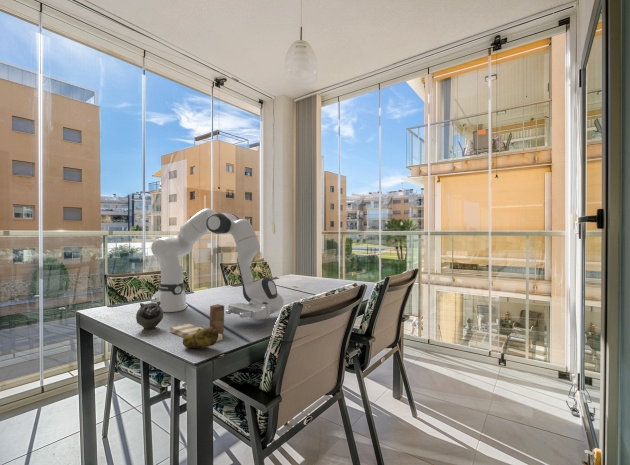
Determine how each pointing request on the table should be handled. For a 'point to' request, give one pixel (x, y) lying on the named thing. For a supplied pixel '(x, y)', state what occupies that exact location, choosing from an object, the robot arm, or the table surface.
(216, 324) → the wooden block
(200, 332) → the potato
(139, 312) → the round clay pot
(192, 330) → the plank
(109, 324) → the table surface
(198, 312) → the table surface
